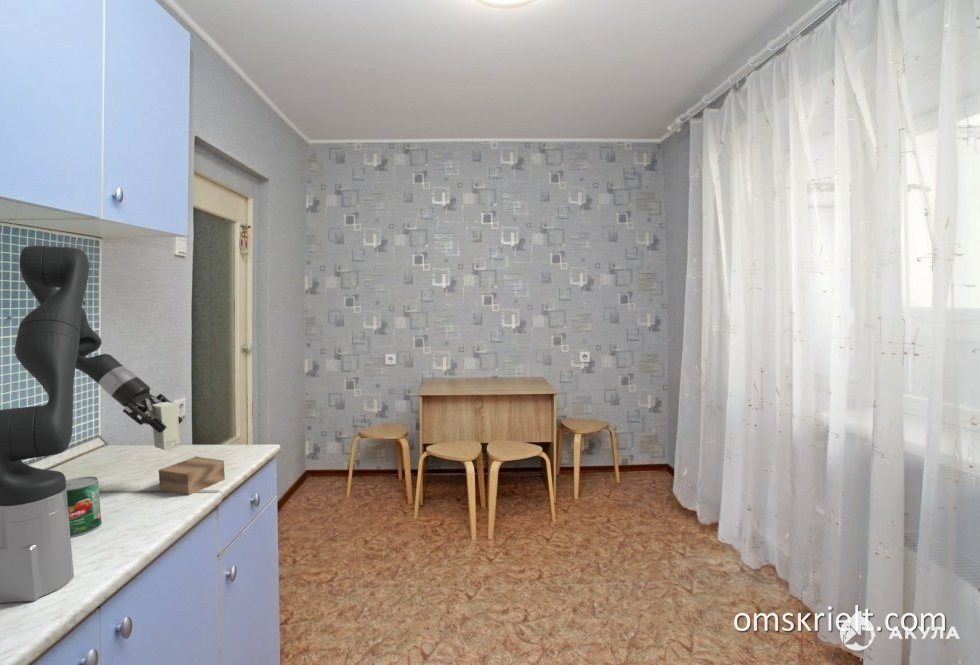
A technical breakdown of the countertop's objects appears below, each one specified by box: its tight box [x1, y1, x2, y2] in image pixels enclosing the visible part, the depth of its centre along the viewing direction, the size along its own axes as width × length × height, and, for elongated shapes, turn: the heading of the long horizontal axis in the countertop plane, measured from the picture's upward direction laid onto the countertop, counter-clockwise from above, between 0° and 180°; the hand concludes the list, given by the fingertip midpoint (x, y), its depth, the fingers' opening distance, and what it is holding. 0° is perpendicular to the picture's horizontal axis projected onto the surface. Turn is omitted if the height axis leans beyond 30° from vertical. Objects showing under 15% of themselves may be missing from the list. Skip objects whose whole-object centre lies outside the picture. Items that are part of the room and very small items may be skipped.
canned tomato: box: [66, 476, 103, 538], centre depth 104 cm, size 8×8×11 cm
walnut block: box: [158, 456, 226, 496], centre depth 129 cm, size 11×11×6 cm
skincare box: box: [152, 401, 182, 451], centre depth 127 cm, size 6×4×12 cm
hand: (171, 426), depth 128 cm, fingers closed on skincare box, 7 cm apart
